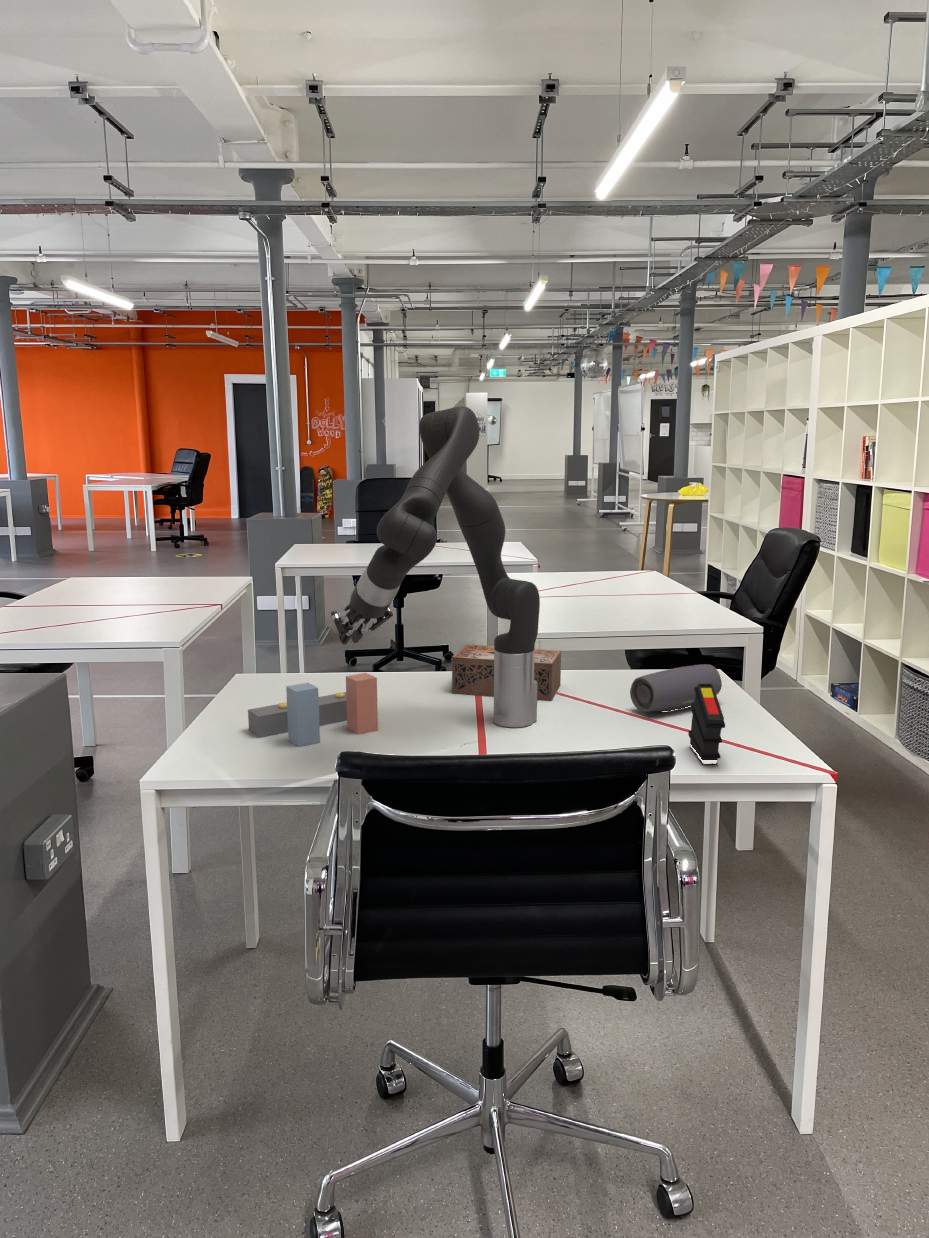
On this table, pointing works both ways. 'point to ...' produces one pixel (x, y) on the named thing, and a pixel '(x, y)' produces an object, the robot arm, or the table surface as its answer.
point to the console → (276, 719)
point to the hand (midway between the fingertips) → (348, 640)
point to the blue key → (303, 714)
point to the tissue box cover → (478, 671)
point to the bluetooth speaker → (672, 687)
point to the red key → (361, 703)
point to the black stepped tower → (706, 722)
